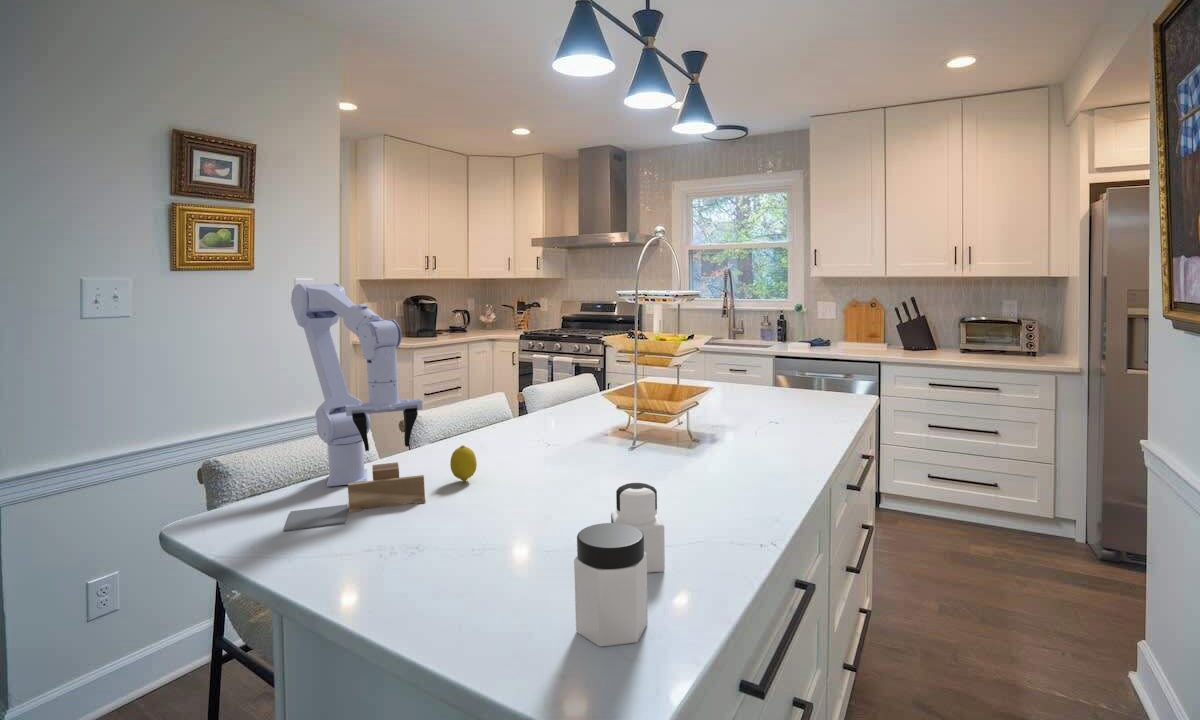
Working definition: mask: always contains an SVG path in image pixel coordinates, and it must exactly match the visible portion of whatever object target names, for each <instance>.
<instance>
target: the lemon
mask: <svg viewBox="0 0 1200 720" xmlns="http://www.w3.org/2000/svg"><path fill="white" fill-rule="evenodd" d="M450 456H451V457H450V462H449V463H450V464H449V465H450V470H451V472H452V474H453V476H454V477H455V478H457V479H458V480H461V481H462V482H463V483H464V481H465V482H467V480H468V479H470V478H471V477H472V476H474V474H475V473H476V470H477V467H478V466H477V465H478V464H477V458H476V455H475V452H474V451H473V449H471V448H469V447H467V446H465V445H460V446H459V447H457V448H456V449H455V450H454V451H453V452H452V454H451V455H450Z"/></svg>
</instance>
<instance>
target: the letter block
mask: <svg viewBox="0 0 1200 720" xmlns="http://www.w3.org/2000/svg"><path fill="white" fill-rule="evenodd" d="M399 466H400V465H399V463H398V461H396V462H389V463H379V464H372V481H374V480H383V479H392V478H400V467H399Z"/></svg>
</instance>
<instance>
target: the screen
mask: <svg viewBox="0 0 1200 720" xmlns="http://www.w3.org/2000/svg"><path fill="white" fill-rule="evenodd" d="M425 492H426V489H425V476H424V474H419V475H413V476H410V475H409V476H402V477H399V478H392V479H383V480H374V481H373V480H367V481H365V482H357V483H348V485H347V496H348V510H349V512H348V513H353V512H361V510H365V509H373V508H374V507H375V508H381V507H382V506H383V507H391V506H399V505H405V504H412V503H414V502H415V503H414V504H415V505H417V503H419V504H424V502H426V495H425Z"/></svg>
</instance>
